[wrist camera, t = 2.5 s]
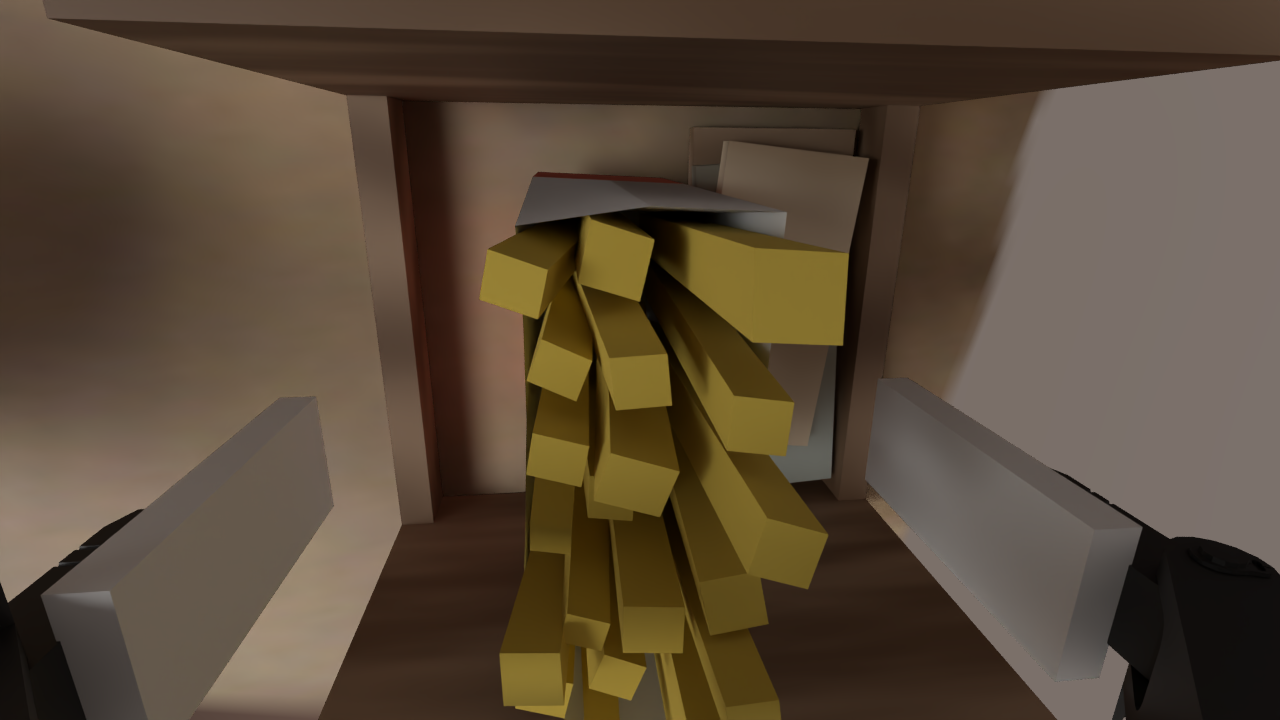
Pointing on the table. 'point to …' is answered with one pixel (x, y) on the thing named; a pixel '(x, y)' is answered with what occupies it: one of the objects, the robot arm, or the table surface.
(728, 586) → the french fries container
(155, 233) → the table surface
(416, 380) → the offcut rack
